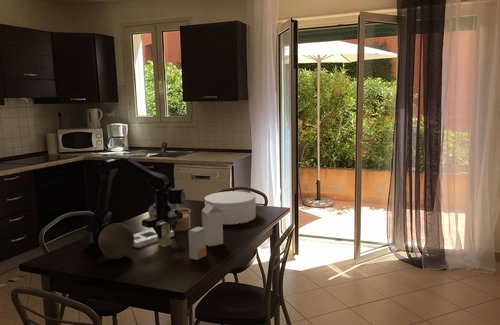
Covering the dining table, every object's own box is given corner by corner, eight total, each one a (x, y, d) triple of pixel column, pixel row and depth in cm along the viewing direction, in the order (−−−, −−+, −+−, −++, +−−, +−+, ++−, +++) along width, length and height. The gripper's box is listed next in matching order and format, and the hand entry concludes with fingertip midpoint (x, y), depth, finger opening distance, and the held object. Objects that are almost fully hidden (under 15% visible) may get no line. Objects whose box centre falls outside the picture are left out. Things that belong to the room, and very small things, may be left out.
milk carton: (208, 247, 174) (206, 205, 171) (202, 242, 180) (201, 201, 177) (223, 244, 177) (221, 202, 174) (217, 239, 183) (215, 199, 181)
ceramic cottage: (186, 215, 224) (182, 189, 222) (166, 224, 210) (162, 197, 208) (165, 214, 232) (162, 189, 230) (145, 222, 218) (141, 196, 216)
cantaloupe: (97, 257, 166) (94, 222, 164) (131, 250, 173) (128, 217, 171) (102, 268, 154) (99, 231, 152) (139, 260, 161) (136, 225, 158)
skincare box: (197, 260, 159) (196, 232, 158) (189, 258, 162) (187, 230, 160) (206, 255, 164) (205, 227, 163) (198, 253, 167) (197, 226, 165)
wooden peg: (163, 247, 175) (162, 225, 174) (158, 245, 178) (156, 223, 177) (170, 244, 178) (169, 223, 177) (165, 242, 181) (164, 221, 179)
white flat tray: (137, 248, 175) (137, 242, 174) (123, 242, 183) (122, 237, 182) (174, 236, 189) (173, 231, 189) (159, 231, 197) (159, 226, 197)
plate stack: (227, 207, 239) (226, 189, 237) (265, 214, 223) (265, 194, 221) (195, 219, 217) (194, 199, 215) (235, 227, 200) (234, 205, 199)
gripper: (154, 211, 163) (157, 247, 165) (189, 202, 177) (191, 235, 179) (139, 207, 170) (142, 241, 173) (174, 198, 184) (176, 230, 187)
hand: (164, 237), depth 178 cm, fingers closed on wooden peg, 4 cm apart
